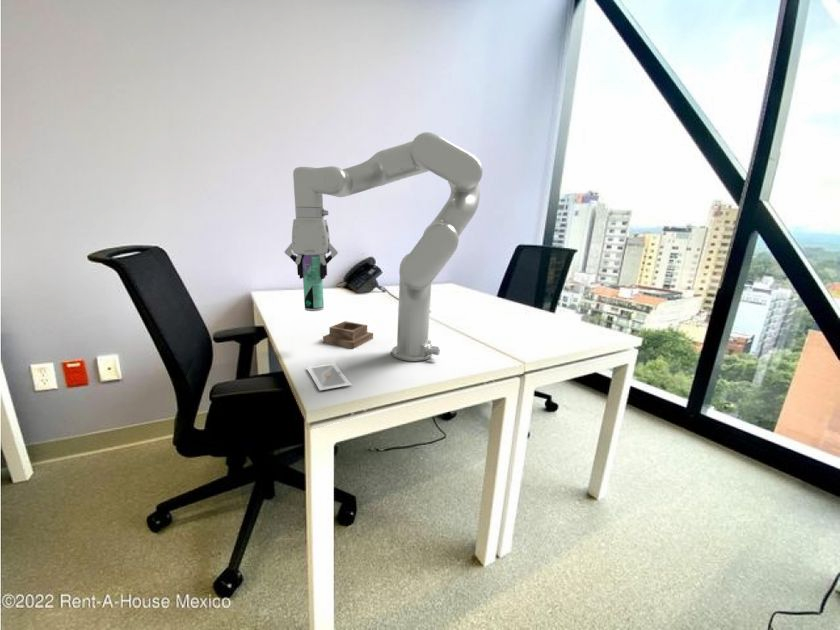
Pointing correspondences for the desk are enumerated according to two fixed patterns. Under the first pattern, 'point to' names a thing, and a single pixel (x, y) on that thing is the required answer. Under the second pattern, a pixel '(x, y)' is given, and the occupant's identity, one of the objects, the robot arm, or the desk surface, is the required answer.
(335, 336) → the display stand
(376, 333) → the desk surface
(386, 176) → the robot arm
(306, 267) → the spray can
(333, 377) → the touchpad
